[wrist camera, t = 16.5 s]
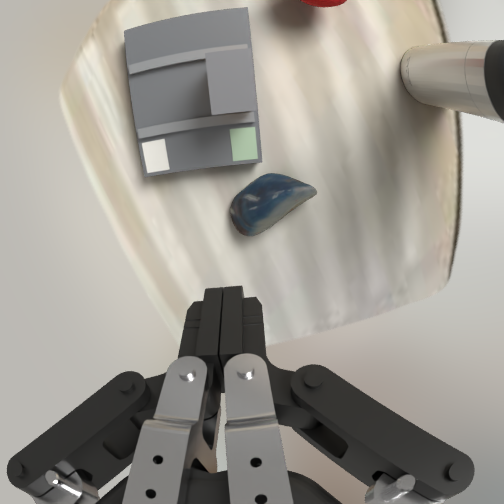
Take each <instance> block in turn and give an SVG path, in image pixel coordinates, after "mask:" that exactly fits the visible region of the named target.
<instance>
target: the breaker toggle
mask: <svg viewBox="0 0 504 504" xmlns="http://www.w3.org/2000/svg"><path fill="white" fill-rule="evenodd" d="M205 59H206V68H207V77H208V86H209V95H210V104H211V113H212V115H217V114H226V113H235V112H245V111H257V100H256V89H255V79H254V68H253V58H252V48H245V49H234V50H225V51H217V52H209V53H205Z"/></svg>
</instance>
